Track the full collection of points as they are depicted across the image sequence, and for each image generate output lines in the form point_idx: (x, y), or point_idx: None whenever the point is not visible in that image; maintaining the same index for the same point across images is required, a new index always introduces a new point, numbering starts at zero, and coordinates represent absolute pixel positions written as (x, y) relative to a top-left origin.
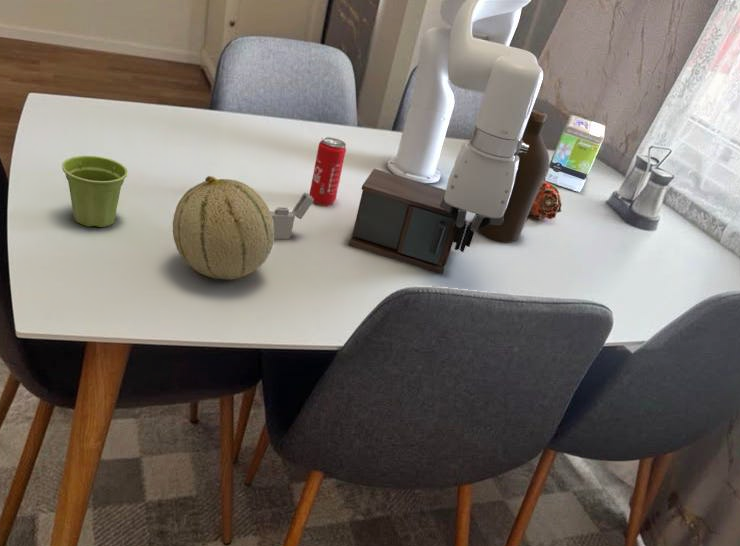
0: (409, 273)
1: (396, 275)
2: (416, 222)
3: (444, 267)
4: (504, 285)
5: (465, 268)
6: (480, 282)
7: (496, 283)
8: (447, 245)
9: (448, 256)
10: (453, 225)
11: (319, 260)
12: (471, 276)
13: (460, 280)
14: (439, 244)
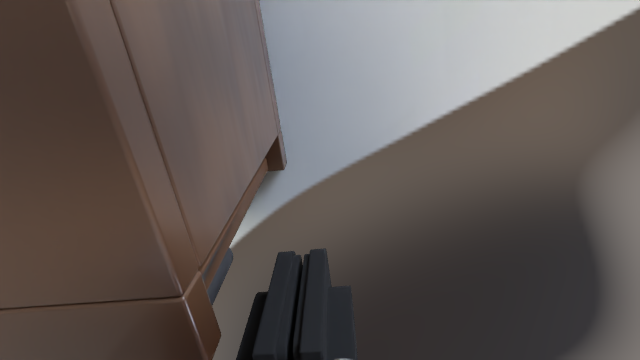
0: None
1: None
2: None
3: (280, 156)
4: (515, 74)
5: (348, 48)
6: (419, 122)
7: (481, 82)
8: (246, 210)
9: (271, 143)
10: (207, 282)
11: None
12: (381, 100)
13: (350, 160)
14: (220, 282)
